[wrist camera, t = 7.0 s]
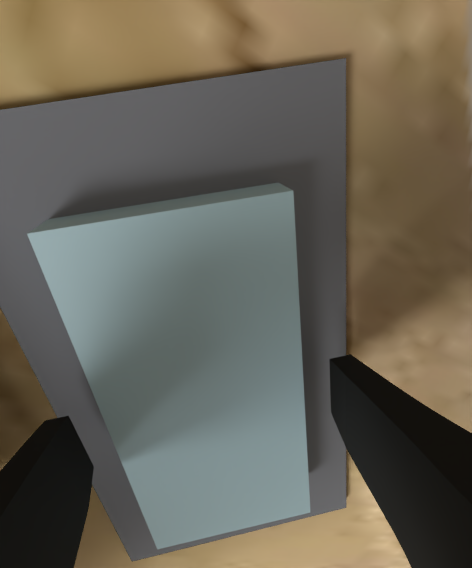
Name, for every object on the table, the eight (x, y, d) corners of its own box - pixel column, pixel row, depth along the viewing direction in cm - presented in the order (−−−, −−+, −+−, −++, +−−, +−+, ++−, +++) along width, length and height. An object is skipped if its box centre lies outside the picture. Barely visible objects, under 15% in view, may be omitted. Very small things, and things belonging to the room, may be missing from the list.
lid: (299, 480, 13) (310, 512, 12) (159, 513, 12) (157, 549, 11) (278, 182, 8) (293, 190, 7) (48, 219, 8) (26, 234, 7)
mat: (343, 500, 14) (346, 507, 14) (132, 553, 14) (131, 561, 13) (339, 60, 7) (346, 57, 7) (-84, 124, 7) (-95, 124, 7)
